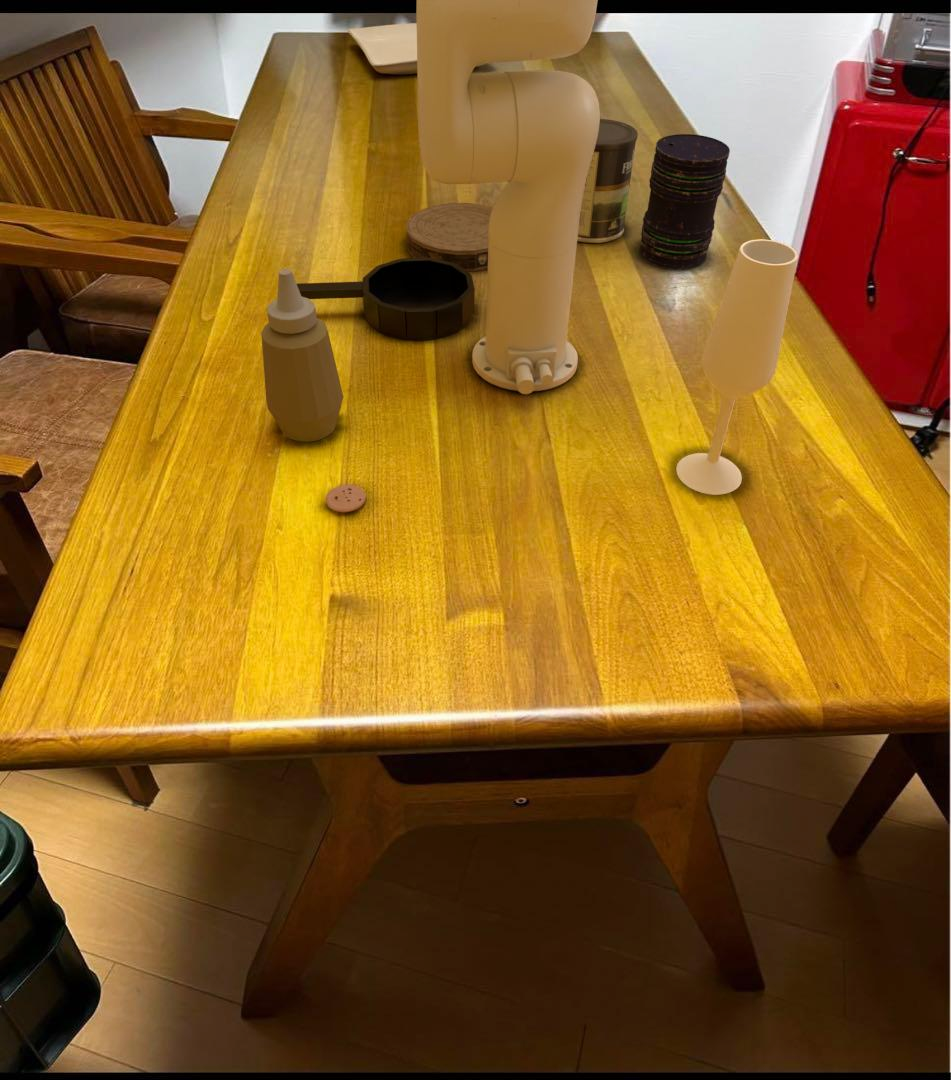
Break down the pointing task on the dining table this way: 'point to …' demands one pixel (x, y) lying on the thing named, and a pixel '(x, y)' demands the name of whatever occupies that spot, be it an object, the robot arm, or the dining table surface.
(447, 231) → the brown flat disc
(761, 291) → the champagne flute
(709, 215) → the dark brown cylinder
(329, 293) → the frying pan
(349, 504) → the cookie
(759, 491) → the dining table surface
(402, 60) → the square plate
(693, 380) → the dining table surface
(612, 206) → the coffee can
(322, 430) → the squeeze bottle
